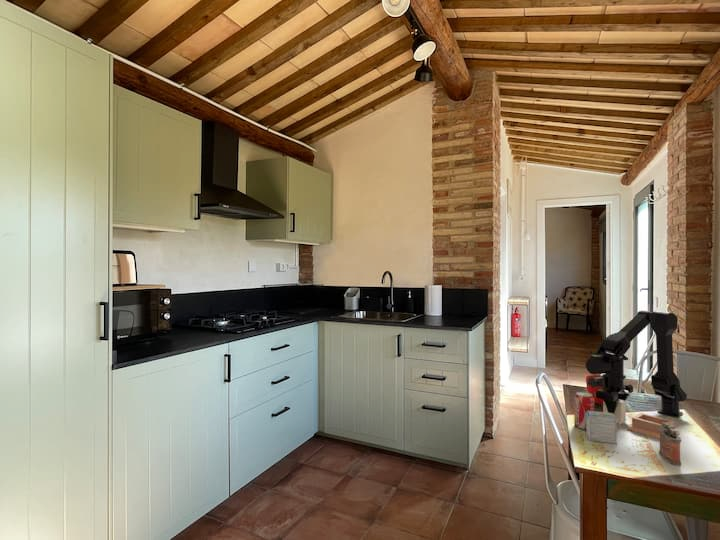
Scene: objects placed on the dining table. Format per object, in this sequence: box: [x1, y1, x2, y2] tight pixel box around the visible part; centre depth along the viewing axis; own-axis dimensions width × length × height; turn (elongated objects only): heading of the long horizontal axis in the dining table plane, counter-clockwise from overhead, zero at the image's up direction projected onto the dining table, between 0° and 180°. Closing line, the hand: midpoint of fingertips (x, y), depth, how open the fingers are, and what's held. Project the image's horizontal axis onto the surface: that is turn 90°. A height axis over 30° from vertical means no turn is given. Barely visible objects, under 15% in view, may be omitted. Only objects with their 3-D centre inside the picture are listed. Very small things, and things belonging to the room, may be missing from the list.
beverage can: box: [573, 391, 595, 431], centre depth 140 cm, size 6×6×12 cm
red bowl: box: [585, 374, 604, 406], centre depth 167 cm, size 13×17×10 cm
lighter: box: [658, 422, 682, 467], centre depth 117 cm, size 8×3×10 cm, turn 168°
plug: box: [602, 399, 627, 425], centre depth 146 cm, size 4×6×8 cm, turn 36°
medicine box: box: [586, 410, 618, 444], centre depth 130 cm, size 8×4×9 cm, turn 71°
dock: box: [627, 412, 680, 440], centre depth 136 cm, size 10×12×4 cm
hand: (614, 414), depth 146 cm, fingers open, 6 cm apart
